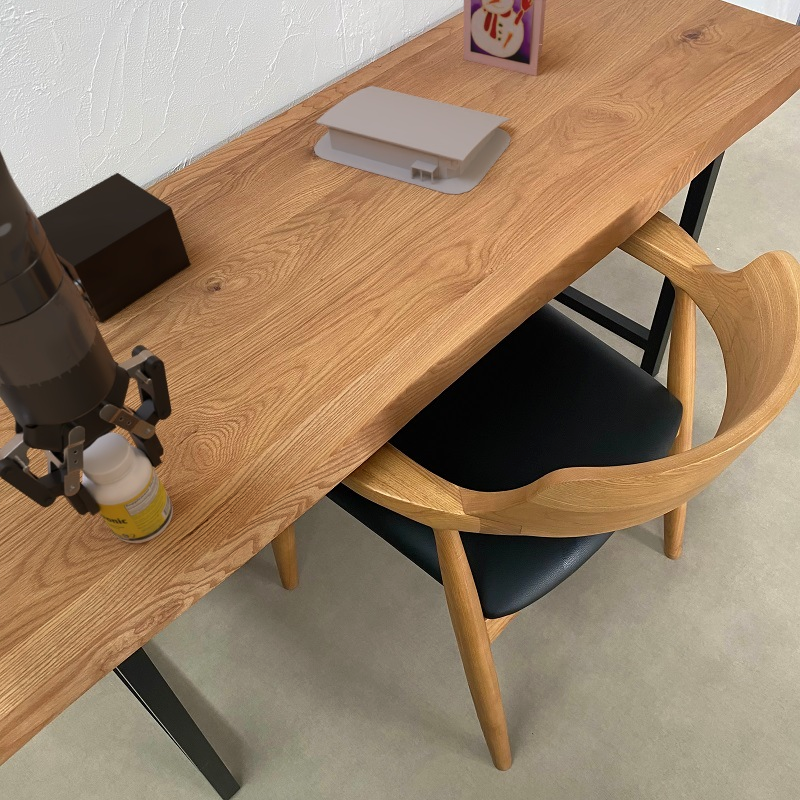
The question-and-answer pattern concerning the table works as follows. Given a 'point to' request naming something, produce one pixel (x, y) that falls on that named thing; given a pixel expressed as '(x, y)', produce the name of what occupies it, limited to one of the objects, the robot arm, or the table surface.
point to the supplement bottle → (126, 489)
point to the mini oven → (115, 243)
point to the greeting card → (504, 33)
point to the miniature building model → (413, 139)
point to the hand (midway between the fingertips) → (121, 483)
